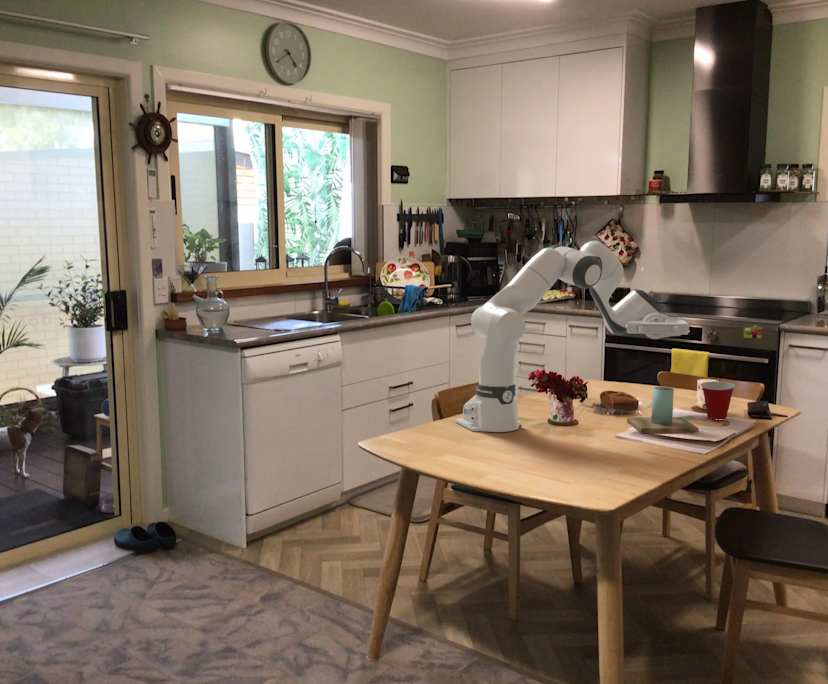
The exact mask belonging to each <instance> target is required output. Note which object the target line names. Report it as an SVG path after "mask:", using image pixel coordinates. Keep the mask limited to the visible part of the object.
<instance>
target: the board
mask: <svg viewBox="0 0 828 684" xmlns="http://www.w3.org/2000/svg"><path fill="white" fill-rule="evenodd" d="M626 422H627V423H628V424H629V425H630V426H632V427H633V428H634V429H635V430H636V431H637V432H639V433H640V434H688V433H687V432H699V429H700V428H699V427H697V426H696V425H695V424H694V423H692V422H690V421H688V420H687V419H685V418H683V417H682V416H679V417H678V416H672V424H668V425H662V424H655V423H652V422H651V416H649V417H648V416H647V417H646V416H644V417H643V416H641V417H640V416H638V417H637V416H632V417H630V416H628V417H627V416H626Z"/></svg>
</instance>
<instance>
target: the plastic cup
mask: <svg viewBox="0 0 828 684" xmlns="http://www.w3.org/2000/svg"><path fill="white" fill-rule="evenodd" d="M700 386H701V388H702V391H703V392H702V393H703V395H704V405H705V409H706V416H707V419H708V418H712V419H718V420H719V419H727V416H728V411H729V408H730V403H731V400H732V395H733V392H734V390H735V387H736V385H735V383H733V382H728V381H720V380H715V381H705V382H702V383H701V384H700ZM718 420H717V421H718Z"/></svg>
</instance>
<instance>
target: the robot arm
mask: <svg viewBox="0 0 828 684" xmlns="http://www.w3.org/2000/svg"><path fill="white" fill-rule="evenodd" d="M624 272H625V271H624V267H623V264H622V262H621V261H620V259H619V258H618V257H617V255H616V254H615V253H614V252H613V251H612V250H611V249H610V248H609V247H608V246H607V245H605V244H604V243H602V242H601V241H598V240H591V241H587V242H585V243H584V244H583V245H582V246H581V247H580V249H575V248H572V247H569V246H566V245H562V244H553V245H551V246H549V247H544V248H542V249H541V250H540V251H539V252H537V253H536V254H535V255H533V256H532V257H531V258H530V259H529V260H528V261H527V262H526V263H525V264H524V266H522V268H521V269H520V270H519V271H518V272H517V273H516V274H515V276H514V277H513V278H512V279H511V280H510V281H509V283H507V284H506V285H505V286H504V287H503V288H502V289H500V291H498V292H497V293H496V294H494V295H493V296H492V297H491V298H490V299H489V300H488V301H487V302H485V303H484V304H483V305H481V306H479V307H478V308H476V309H475V310H474V311H473V313H472V314H471V318H470V324H471V328H472V330H473V331H474V332H475V333H476V334H477V335H478V336H479V337H481V338H483V339H485V345H484V349H483V353H482V355H481V357H480V358H479V371H478V375H479V377H478V378H479V379H478V382H479V383H477V384H474V389H476V390H475V394H474V396H472V397H471V398H470V399H469V400H468V401H467V402H466V403H464V405H463V408H462V416H461V417H458V418H456V419H455V423H457V424H458V425H461V426H463V427H464V428H466V429H468V430H469V431H473V432H488V433H490V432H491V433H506V432H513V431H516V430H519V427H520V426H521V421H520V420H519V413H518V411H519V410H518V403H517V399H516V398H515V396H516V391H517V389H516V384H515V364H516V363H515V361H516V355H517V349H518V348H519V347H518V346H519V343H520V340H521V338H522V337H523V336H524V334H525V332H526V328H527V327H526V321H525V319H524V317H523V315H524V314H526V313H527V312H528V311H531V310H533V308H535V307H536V306H537V305H538V303H539V302H540V301H541V300H542V299H543V298H544V296H546V294H547V293H548V292H549V291H550V290H551V288H552V287H553V285H555V283H556V282H557V281H558V280H561V281H562V282H564V283H566V284H569V285H572V286H576V287H577V288H580V289H589V290H588V291H589V293H590V295H591V298H592V299H593V302H594V304H595V307H596V308H597V309H598V312H599V313H600V316H601V318H602V320H603V324H604V325H605V328H606V329H607V330H608V331H609V332H610V333H611V334H613V335H618V336H621V335H625V334H626V333H627V334H633V335H634V334H640V335H641V334H643V335H645V336H646V337H647V338H649V339H652V340H658V339H664V338H666V337H667V338H668V337H680V336H681V335H689V332H690V325H689V324H690V323H688V321H686V320H683V319H682V317H679V316H671V315H666V314H662V313H661V312H659V305H658V304H657V302H656V301H655V300H654V298H653V297H651V295H649V294H648V293H647V292H645V290H642V289H633V290H631V291H630V292H629V293H628V294H627V295H626V296H624V297H623V298H622V299H621V300H619V302H617V303H615V304H614V305H613V306H612V307H611V304H610V302H609V300H610V298H611V296H612V294H614V291H615V290H616V289H617V288H618V286H619V285H621V282H622V280H623V278H624Z"/></svg>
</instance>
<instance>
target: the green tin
mask: <svg viewBox="0 0 828 684" xmlns="http://www.w3.org/2000/svg"><path fill="white" fill-rule="evenodd" d="M674 392H675V390H674V388H673V387H669V386H653V387H652V398H651V399H652V400H651V416H650V417H651V422H652V423H655V424H662V425H668V424H672V417H673V413H674V412H673V411H674V395H675V394H674Z"/></svg>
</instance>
